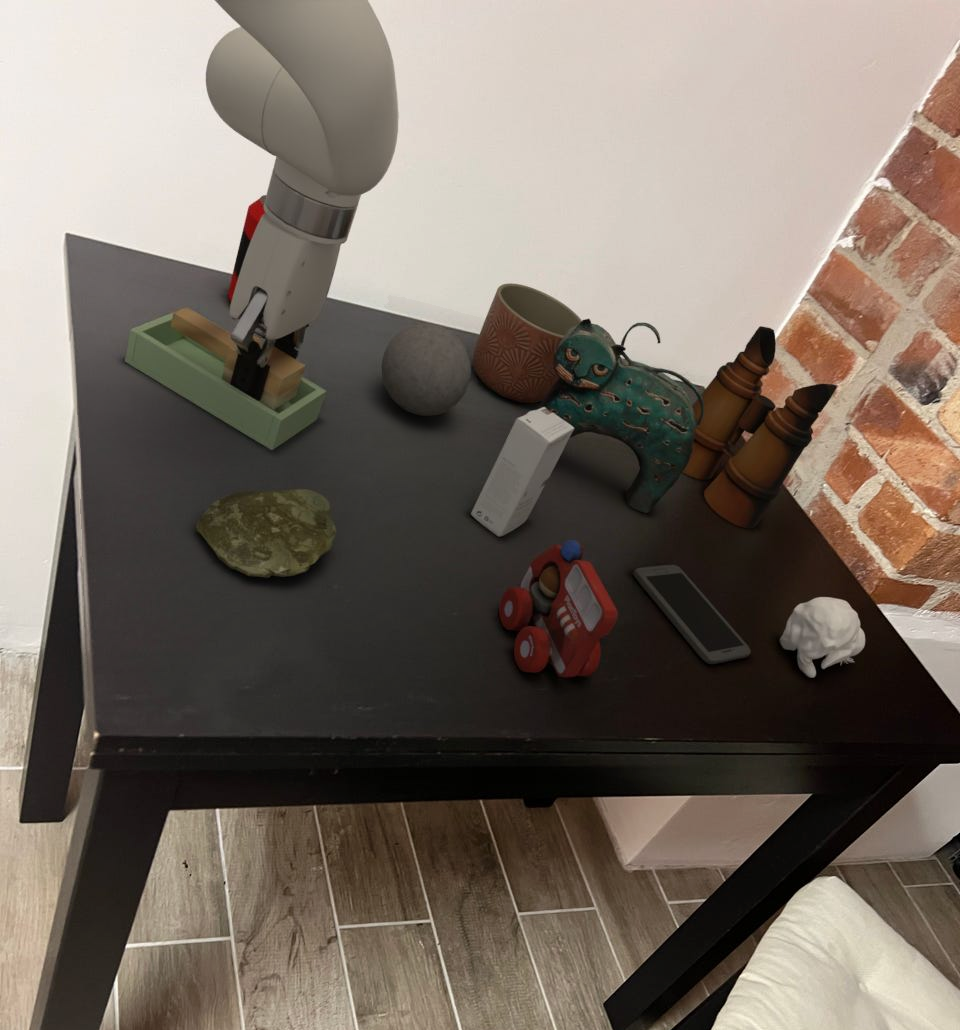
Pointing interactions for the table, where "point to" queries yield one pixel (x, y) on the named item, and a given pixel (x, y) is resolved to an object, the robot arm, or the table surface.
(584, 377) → the ceramic cat
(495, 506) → the cosmetic box
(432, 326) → the decorative ball
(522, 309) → the planter
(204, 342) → the brush
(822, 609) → the white frog figurine
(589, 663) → the toy fire truck
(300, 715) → the table surface
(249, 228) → the soda can
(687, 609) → the cell phone
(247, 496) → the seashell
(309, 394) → the bin
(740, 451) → the binoculars
